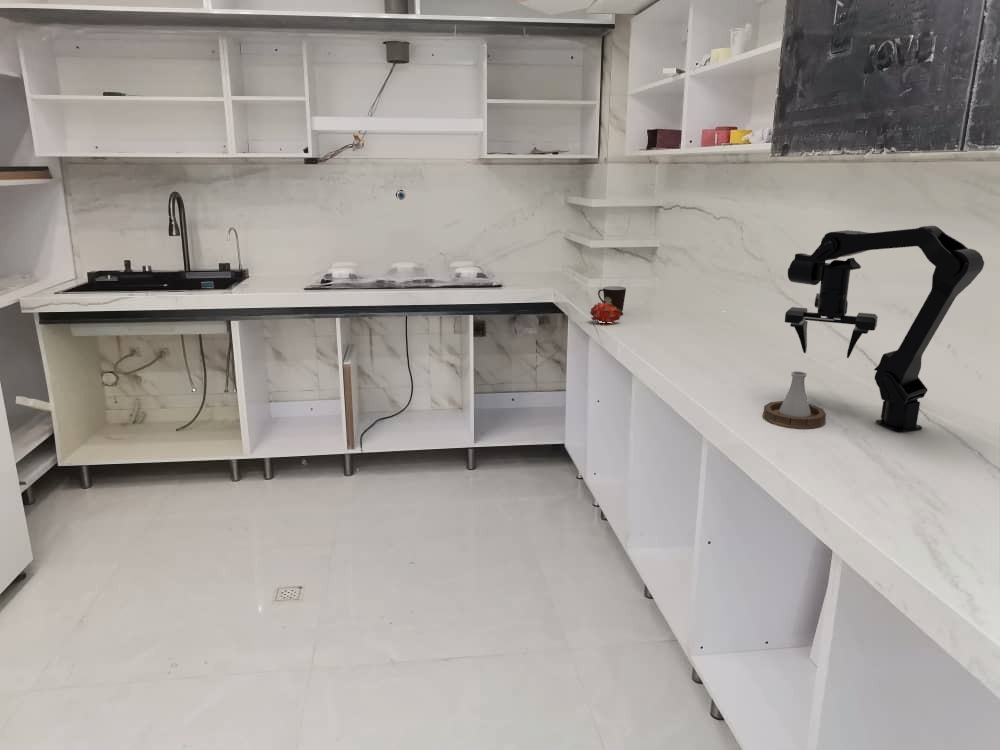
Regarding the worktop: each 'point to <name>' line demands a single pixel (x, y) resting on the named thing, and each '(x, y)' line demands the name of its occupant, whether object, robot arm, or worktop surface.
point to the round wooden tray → (794, 422)
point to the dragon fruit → (605, 312)
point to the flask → (796, 398)
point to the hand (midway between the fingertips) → (826, 355)
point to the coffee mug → (614, 296)
